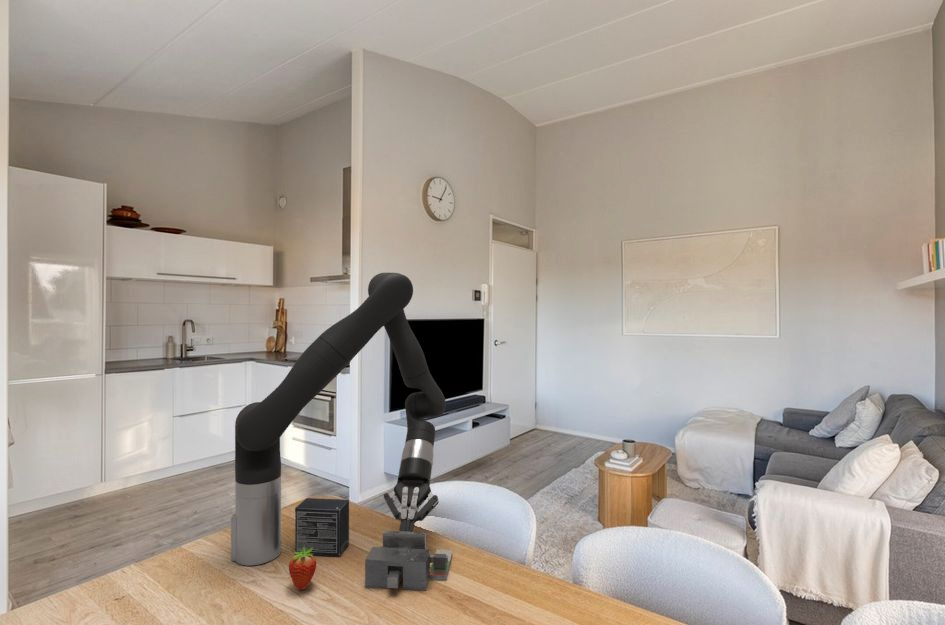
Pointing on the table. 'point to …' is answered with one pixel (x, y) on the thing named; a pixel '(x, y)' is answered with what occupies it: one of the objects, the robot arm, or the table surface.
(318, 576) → the table surface
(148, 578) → the table surface
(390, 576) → the push plate
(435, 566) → the block
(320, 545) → the small box
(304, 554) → the fruit
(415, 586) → the gauge base
